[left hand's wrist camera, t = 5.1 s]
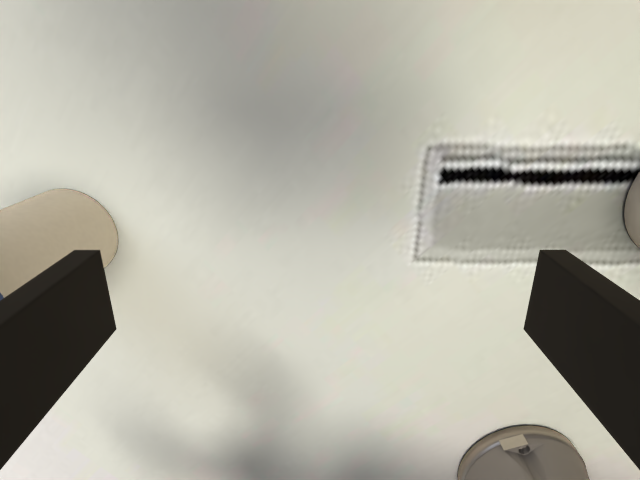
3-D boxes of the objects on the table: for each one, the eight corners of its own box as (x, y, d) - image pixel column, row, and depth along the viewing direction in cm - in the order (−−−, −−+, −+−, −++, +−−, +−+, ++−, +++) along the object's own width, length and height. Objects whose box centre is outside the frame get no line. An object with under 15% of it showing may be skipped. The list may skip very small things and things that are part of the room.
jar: (134, 223, 41) (15, 314, 25) (94, 289, 44) (-36, 410, 28) (47, 169, 39) (-142, 230, 23) (11, 242, 42) (-182, 341, 26)
